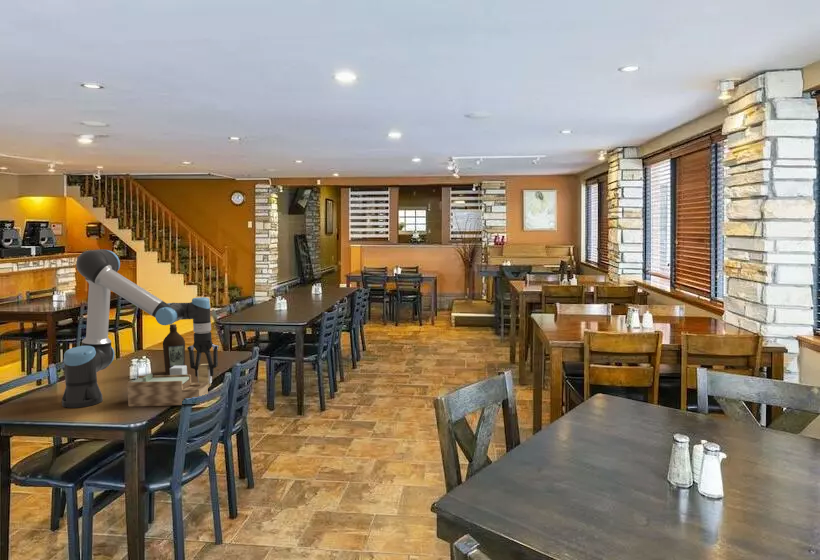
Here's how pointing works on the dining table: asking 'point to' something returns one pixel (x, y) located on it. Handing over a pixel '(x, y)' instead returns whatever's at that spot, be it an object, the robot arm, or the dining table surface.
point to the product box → (178, 370)
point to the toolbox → (164, 391)
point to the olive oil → (173, 349)
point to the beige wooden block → (203, 373)
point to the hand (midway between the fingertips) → (204, 383)
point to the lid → (161, 379)
